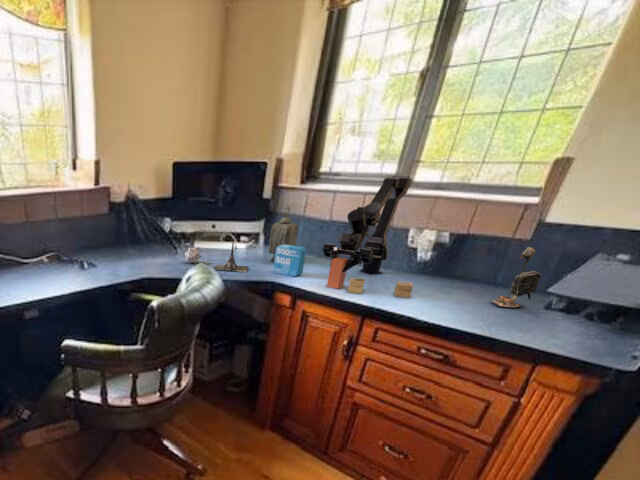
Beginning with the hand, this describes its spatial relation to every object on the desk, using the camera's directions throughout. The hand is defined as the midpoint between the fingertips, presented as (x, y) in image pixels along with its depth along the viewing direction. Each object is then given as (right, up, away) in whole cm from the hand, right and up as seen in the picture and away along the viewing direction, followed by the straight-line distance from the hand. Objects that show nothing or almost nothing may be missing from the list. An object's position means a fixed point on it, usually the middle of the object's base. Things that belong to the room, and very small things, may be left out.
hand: (336, 271), depth 166 cm
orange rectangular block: (+1, -5, +4) cm, 7 cm away
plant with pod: (+50, -18, -20) cm, 57 cm away
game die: (-51, +16, +45) cm, 70 cm away
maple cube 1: (+6, -9, -2) cm, 11 cm away
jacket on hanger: (-6, +18, +46) cm, 50 cm away
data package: (-11, +5, +23) cm, 26 cm away
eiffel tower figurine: (-34, +10, +33) cm, 48 cm away
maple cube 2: (+21, -11, -8) cm, 25 cm away
